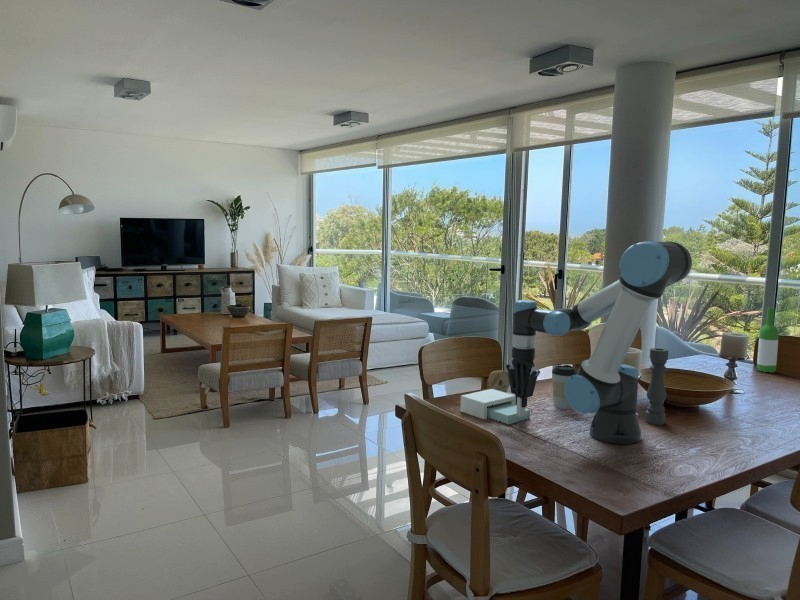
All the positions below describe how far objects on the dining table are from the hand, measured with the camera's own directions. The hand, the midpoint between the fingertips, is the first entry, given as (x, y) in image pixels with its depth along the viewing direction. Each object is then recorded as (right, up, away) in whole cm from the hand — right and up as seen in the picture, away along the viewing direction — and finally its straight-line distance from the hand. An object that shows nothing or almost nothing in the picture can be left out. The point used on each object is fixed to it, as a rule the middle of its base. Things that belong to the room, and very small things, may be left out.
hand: (520, 415), depth 201 cm
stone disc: (-2, +1, +34) cm, 34 cm away
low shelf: (-9, -1, +12) cm, 15 cm away
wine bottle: (+132, +5, +80) cm, 154 cm away
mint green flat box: (-4, -2, +5) cm, 6 cm away
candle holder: (+46, -3, +2) cm, 46 cm away
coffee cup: (+19, 0, +19) cm, 27 cm away
